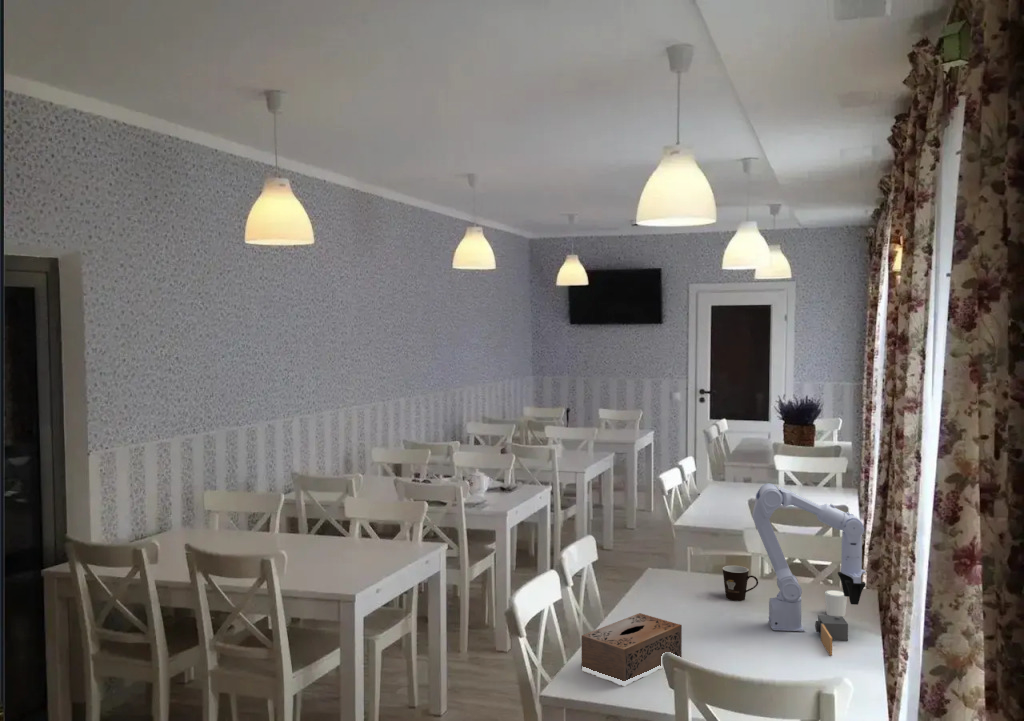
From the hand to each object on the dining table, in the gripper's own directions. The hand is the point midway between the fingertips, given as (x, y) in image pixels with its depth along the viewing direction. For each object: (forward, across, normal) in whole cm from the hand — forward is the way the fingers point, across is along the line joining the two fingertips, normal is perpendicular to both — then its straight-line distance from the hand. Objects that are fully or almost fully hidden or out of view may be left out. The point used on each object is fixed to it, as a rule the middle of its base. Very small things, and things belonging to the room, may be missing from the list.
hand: (851, 600), depth 263 cm
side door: (+9, -15, +10) cm, 21 cm away
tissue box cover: (+10, -35, +66) cm, 75 cm away
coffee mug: (+10, +27, +30) cm, 41 cm away
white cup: (+10, +15, +1) cm, 18 cm away
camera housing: (+9, -6, +6) cm, 13 cm away
